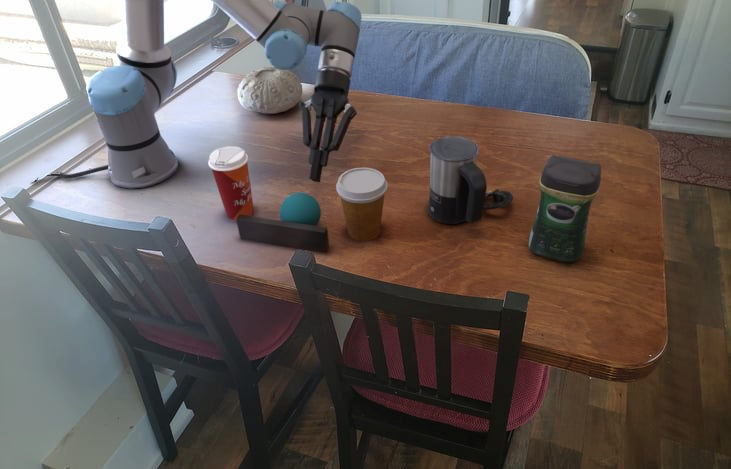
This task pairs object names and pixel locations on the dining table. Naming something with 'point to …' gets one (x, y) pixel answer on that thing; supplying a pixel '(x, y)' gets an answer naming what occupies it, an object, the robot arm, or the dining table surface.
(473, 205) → the milk frother
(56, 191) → the dining table surface
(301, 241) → the block
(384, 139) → the dining table surface
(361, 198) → the disposable coffee cup
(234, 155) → the paper cup
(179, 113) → the dining table surface
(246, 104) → the decorative shell
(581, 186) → the coffee jar
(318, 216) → the ball
